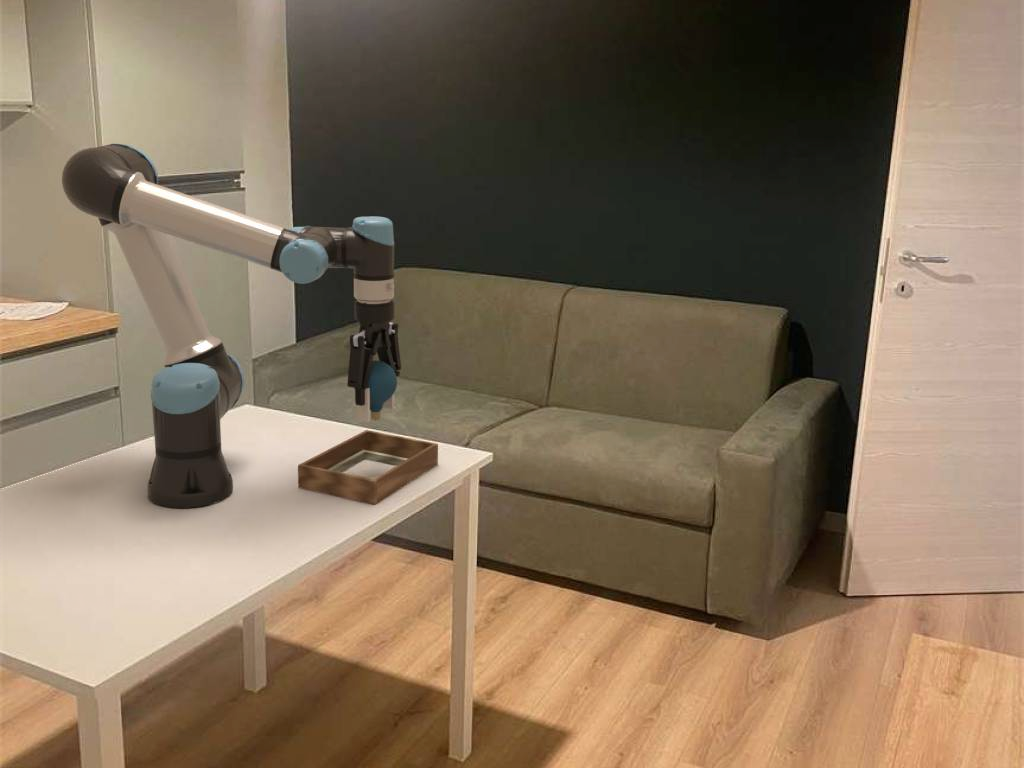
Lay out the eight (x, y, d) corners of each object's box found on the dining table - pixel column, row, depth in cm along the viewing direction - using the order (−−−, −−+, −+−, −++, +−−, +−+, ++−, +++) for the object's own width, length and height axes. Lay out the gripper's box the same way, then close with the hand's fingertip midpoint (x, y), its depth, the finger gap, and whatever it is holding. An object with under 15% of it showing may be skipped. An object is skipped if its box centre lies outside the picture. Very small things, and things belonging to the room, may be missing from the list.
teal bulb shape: (394, 427, 202) (394, 367, 198) (350, 426, 202) (349, 366, 198) (399, 414, 210) (399, 356, 206) (357, 413, 210) (356, 354, 206)
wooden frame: (298, 487, 200) (297, 465, 199) (366, 450, 221) (366, 429, 220) (374, 504, 194) (374, 481, 192) (437, 464, 215) (438, 443, 213)
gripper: (360, 312, 188) (362, 432, 195) (419, 292, 207) (419, 402, 213) (325, 307, 191) (328, 426, 198) (386, 288, 210) (387, 397, 216)
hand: (375, 413), depth 205 cm, fingers closed on teal bulb shape, 8 cm apart
